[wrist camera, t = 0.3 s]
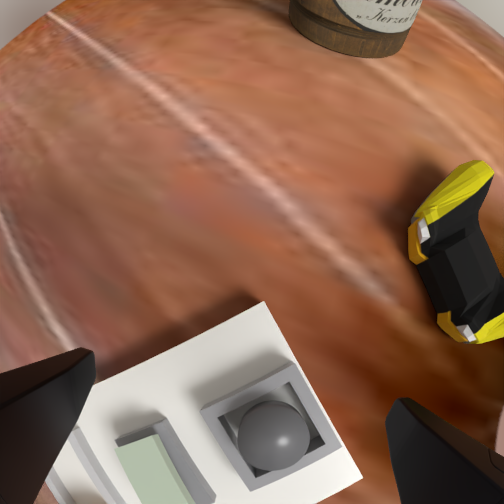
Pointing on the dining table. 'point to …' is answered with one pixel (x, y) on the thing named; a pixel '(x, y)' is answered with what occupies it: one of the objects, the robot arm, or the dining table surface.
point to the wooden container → (355, 24)
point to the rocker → (152, 472)
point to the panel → (203, 422)
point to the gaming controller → (459, 256)
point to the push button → (272, 436)
